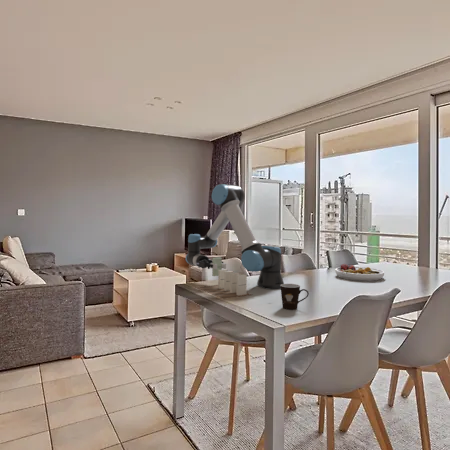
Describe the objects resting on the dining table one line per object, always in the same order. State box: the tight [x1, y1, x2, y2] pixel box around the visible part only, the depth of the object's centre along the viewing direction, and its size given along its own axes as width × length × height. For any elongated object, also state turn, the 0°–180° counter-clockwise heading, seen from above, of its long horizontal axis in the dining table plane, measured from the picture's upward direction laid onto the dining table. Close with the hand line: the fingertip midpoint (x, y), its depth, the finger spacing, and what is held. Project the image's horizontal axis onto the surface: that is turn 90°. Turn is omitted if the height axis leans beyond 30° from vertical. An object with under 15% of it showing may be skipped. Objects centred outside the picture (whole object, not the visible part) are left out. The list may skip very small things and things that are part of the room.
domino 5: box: [237, 273, 248, 295], centre depth 186 cm, size 2×5×10 cm, turn 122°
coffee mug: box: [280, 283, 309, 311], centre depth 162 cm, size 12×9×10 cm
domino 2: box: [217, 268, 229, 289], centre depth 201 cm, size 2×5×10 cm, turn 122°
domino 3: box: [224, 270, 235, 291], centre depth 196 cm, size 2×5×10 cm, turn 122°
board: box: [194, 284, 253, 300], centre depth 194 cm, size 31×17×1 cm, turn 31°
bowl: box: [335, 263, 385, 282], centre depth 241 cm, size 30×30×8 cm
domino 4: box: [230, 272, 241, 293], centre depth 191 cm, size 2×5×10 cm, turn 122°
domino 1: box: [211, 257, 223, 277], centre depth 206 cm, size 2×5×10 cm, turn 121°
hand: (221, 266), depth 202 cm, fingers closed on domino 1, 5 cm apart
